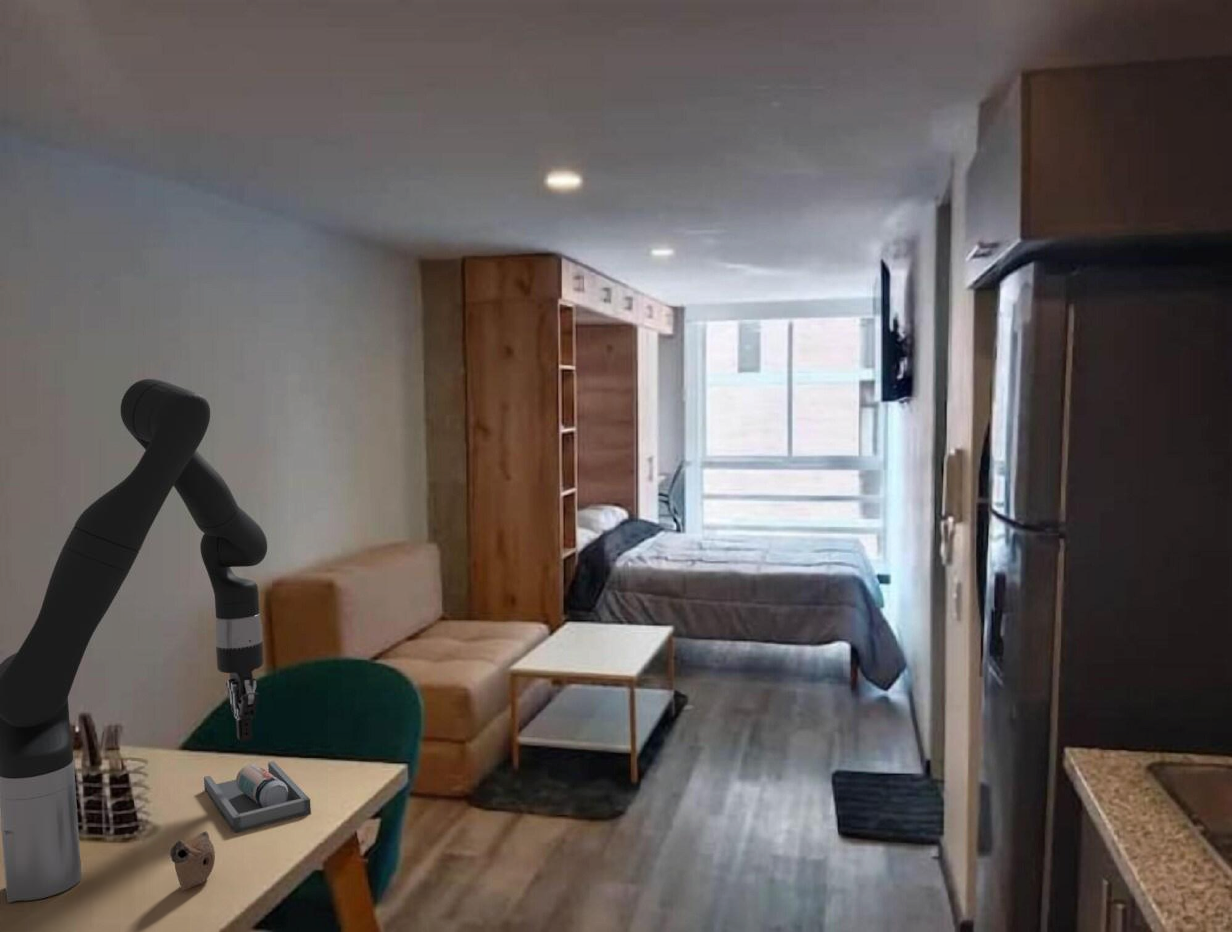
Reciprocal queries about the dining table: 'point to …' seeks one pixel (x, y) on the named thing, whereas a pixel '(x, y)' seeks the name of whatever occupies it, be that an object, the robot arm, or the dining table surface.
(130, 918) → the dining table surface
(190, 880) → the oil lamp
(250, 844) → the dining table surface
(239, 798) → the tray
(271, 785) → the beer can
